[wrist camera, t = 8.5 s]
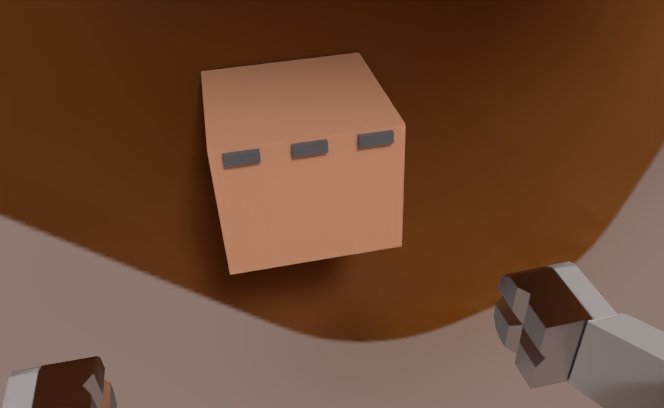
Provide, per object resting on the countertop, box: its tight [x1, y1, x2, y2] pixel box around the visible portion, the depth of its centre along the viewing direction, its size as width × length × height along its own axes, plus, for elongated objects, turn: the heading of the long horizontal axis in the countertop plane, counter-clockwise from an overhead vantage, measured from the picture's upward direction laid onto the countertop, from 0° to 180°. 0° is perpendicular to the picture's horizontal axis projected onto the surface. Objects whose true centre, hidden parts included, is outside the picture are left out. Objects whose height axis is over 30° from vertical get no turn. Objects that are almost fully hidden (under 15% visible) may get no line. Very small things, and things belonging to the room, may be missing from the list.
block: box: [201, 52, 406, 275], centre depth 18 cm, size 5×4×5 cm
